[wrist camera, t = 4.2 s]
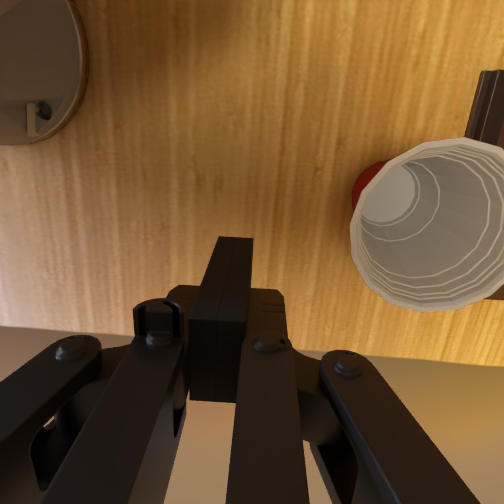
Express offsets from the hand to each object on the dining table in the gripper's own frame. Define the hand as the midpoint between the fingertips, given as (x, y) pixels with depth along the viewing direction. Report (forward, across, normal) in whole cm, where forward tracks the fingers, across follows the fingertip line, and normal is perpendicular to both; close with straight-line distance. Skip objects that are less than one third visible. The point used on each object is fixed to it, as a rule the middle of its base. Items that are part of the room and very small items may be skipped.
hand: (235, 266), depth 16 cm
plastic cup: (+18, +12, 0) cm, 22 cm away
